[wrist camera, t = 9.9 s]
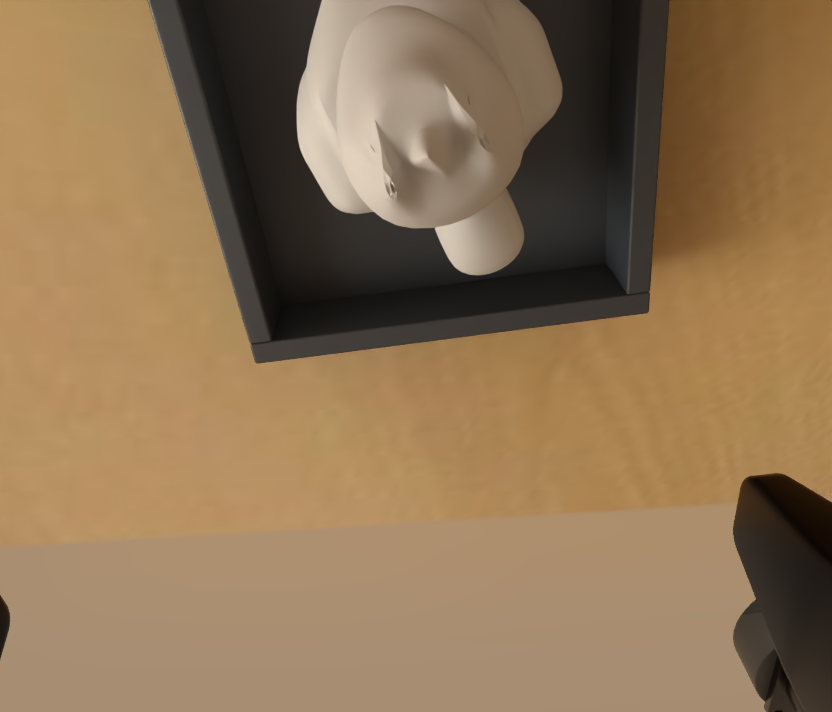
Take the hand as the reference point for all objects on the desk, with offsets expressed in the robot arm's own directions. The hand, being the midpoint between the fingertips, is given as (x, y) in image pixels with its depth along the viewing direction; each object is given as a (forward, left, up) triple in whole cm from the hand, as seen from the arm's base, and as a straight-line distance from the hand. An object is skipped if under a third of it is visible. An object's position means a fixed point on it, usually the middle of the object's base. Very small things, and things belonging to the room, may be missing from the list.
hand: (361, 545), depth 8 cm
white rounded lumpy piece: (+3, -2, -12) cm, 12 cm away
